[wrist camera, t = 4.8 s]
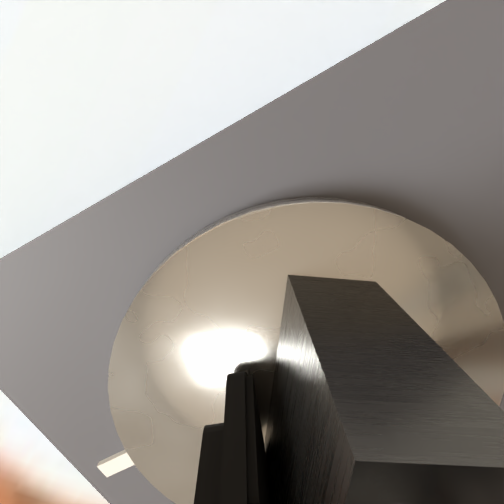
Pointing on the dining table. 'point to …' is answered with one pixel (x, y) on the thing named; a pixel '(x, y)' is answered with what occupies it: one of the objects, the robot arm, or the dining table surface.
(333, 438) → the dial
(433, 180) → the control panel
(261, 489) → the robot arm
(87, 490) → the dining table surface
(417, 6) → the dining table surface
